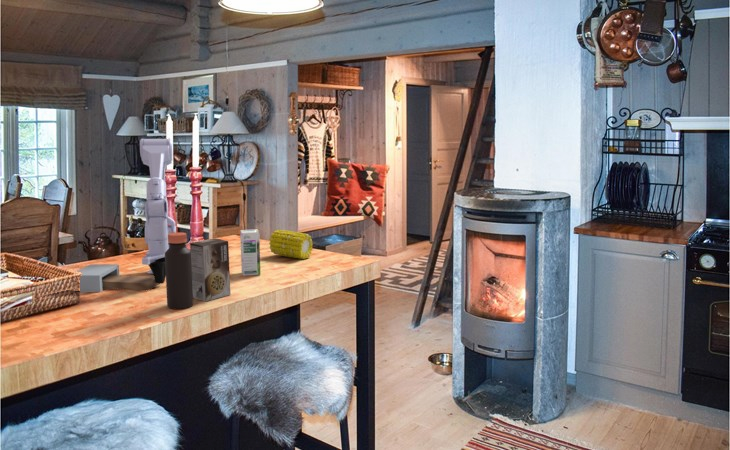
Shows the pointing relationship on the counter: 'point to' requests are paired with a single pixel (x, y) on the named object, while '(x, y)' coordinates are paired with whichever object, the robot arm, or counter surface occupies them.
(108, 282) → the board
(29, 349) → the counter surface
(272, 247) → the food
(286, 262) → the counter surface
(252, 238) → the syrup box
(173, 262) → the bottle
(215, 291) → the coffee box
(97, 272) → the shelf
